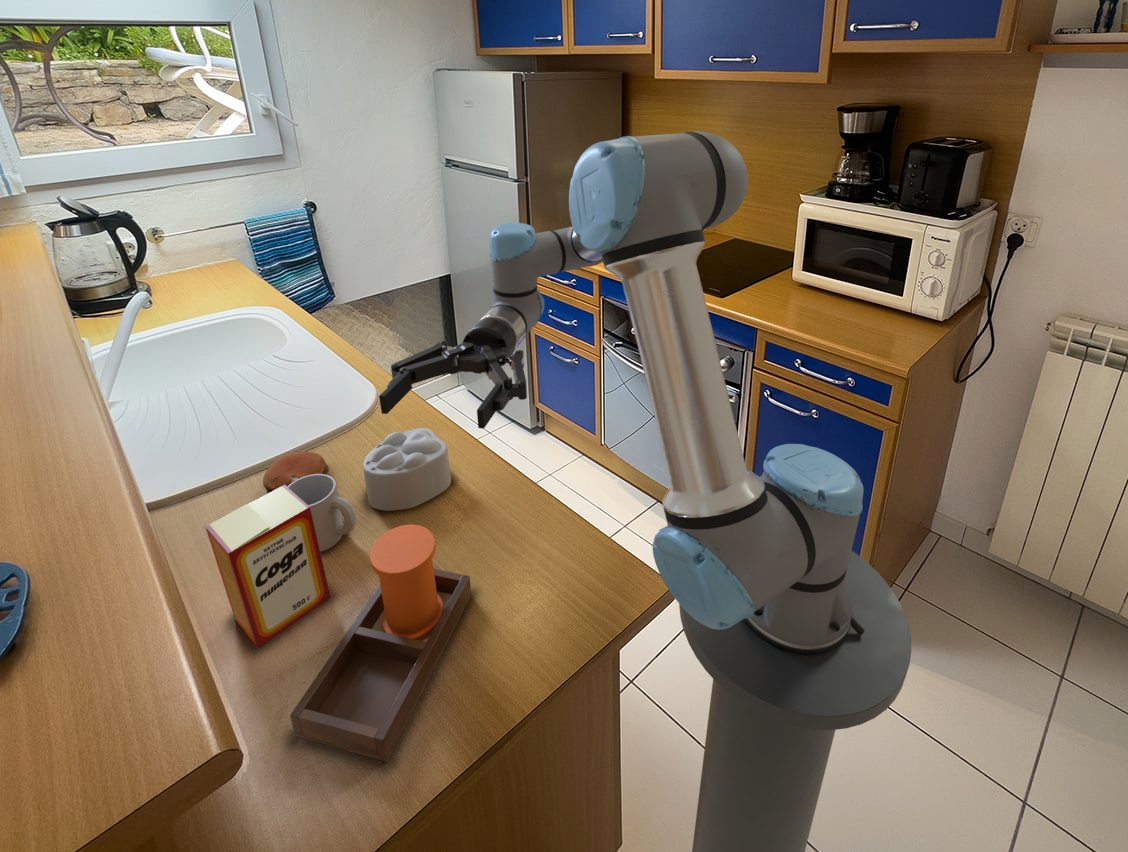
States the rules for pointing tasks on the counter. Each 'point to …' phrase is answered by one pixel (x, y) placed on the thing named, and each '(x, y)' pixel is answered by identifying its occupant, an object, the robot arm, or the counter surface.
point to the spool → (407, 581)
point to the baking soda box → (269, 563)
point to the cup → (325, 508)
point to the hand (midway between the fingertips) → (430, 412)
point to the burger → (293, 469)
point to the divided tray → (376, 677)
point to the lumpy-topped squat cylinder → (406, 470)
